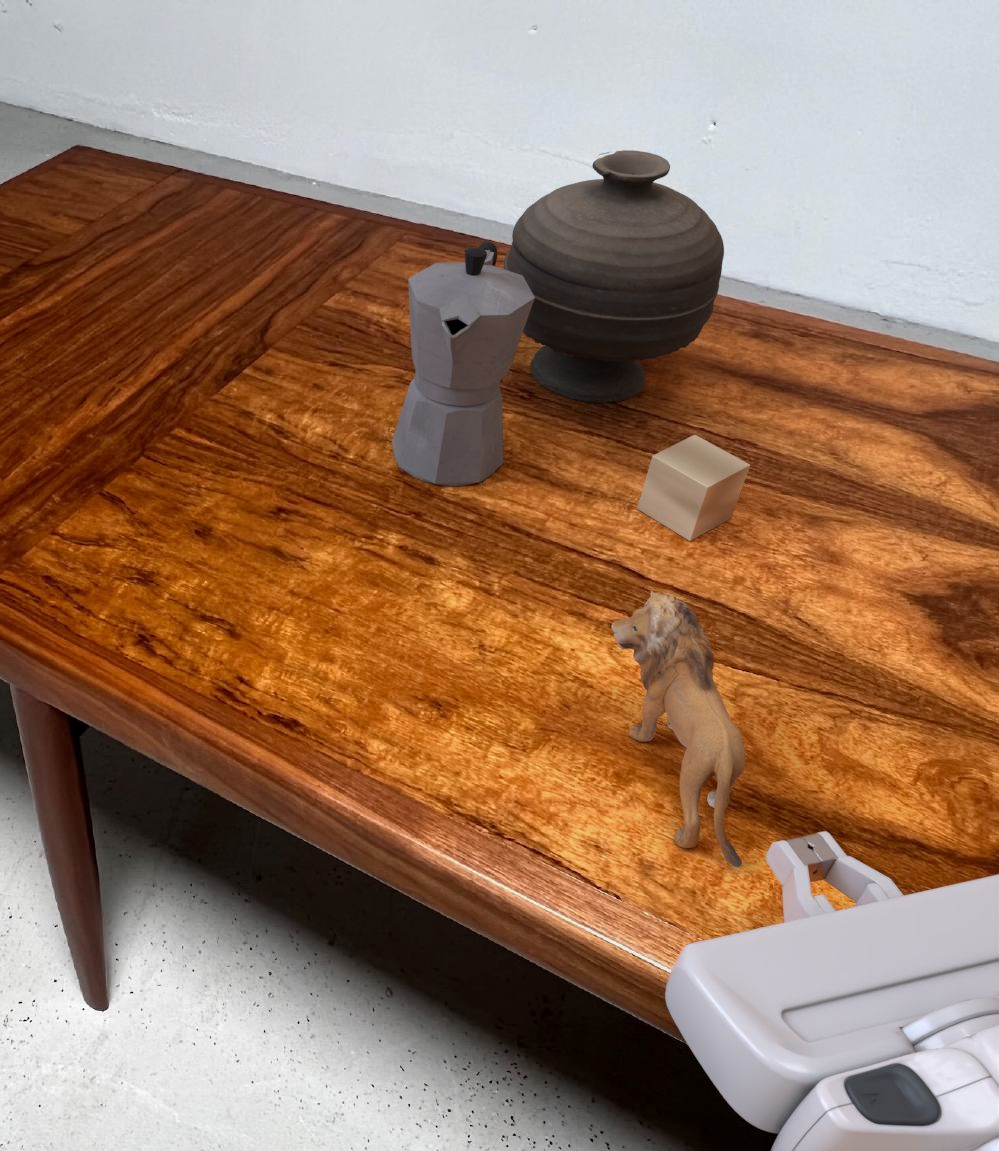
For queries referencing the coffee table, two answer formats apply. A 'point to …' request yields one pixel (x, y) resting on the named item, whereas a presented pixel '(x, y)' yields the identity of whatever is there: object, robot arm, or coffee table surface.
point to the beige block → (692, 487)
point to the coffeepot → (460, 367)
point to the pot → (614, 276)
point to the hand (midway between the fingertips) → (794, 843)
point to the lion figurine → (685, 708)
